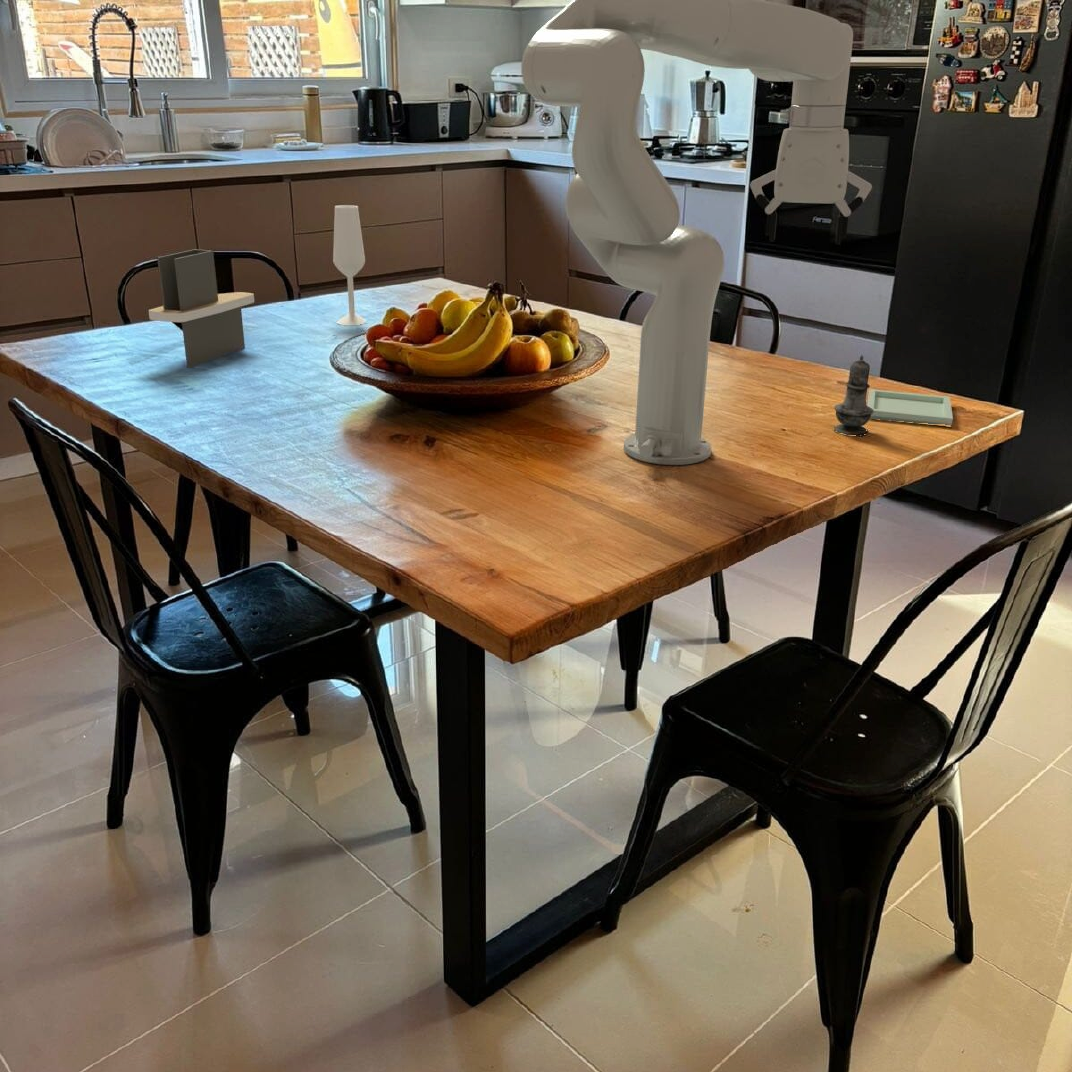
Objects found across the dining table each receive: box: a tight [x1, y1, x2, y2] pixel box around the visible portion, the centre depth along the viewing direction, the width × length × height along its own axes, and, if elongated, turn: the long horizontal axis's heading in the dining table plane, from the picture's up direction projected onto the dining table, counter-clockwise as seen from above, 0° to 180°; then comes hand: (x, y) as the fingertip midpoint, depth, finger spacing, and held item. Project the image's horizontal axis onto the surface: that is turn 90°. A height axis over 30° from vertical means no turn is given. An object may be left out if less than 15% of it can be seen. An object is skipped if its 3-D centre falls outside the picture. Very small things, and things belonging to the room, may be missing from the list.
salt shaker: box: [833, 354, 874, 437], centre depth 161 cm, size 6×6×12 cm
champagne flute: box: [332, 204, 367, 326], centre depth 222 cm, size 7×7×24 cm
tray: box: [866, 388, 954, 425], centre depth 173 cm, size 13×13×2 cm
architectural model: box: [148, 248, 255, 369], centre depth 194 cm, size 38×25×20 cm, turn 159°
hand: (804, 241), depth 157 cm, fingers open, 9 cm apart
